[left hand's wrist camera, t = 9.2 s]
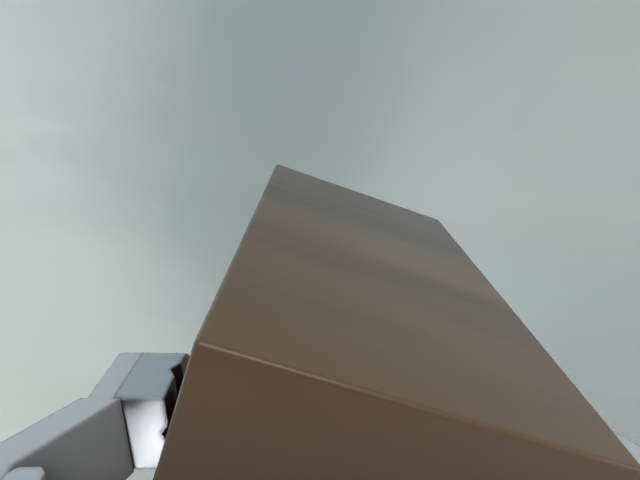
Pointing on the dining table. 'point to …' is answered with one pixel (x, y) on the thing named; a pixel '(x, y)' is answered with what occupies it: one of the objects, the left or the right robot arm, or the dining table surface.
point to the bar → (372, 360)
